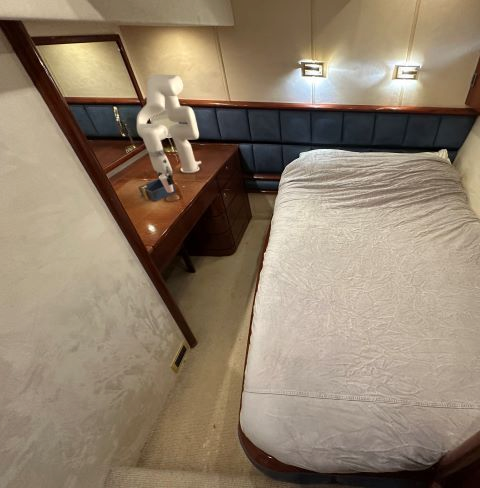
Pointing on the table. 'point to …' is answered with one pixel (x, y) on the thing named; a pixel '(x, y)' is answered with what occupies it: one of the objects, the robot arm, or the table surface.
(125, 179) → the table surface
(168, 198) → the coaster
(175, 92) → the robot arm
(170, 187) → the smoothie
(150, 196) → the drawer
